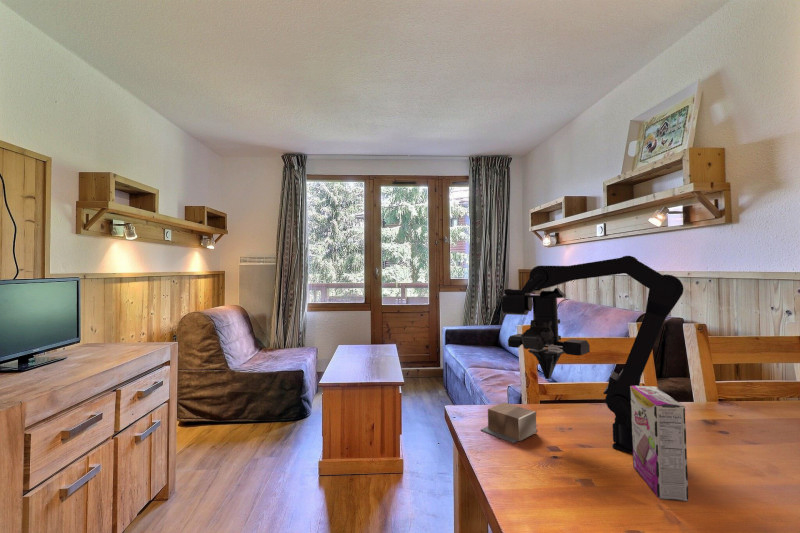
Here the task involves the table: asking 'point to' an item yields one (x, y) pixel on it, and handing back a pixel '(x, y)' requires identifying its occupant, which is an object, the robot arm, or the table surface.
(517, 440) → the mat
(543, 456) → the table surface
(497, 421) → the walnut block
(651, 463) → the candy bar box
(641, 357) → the robot arm
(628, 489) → the table surface
